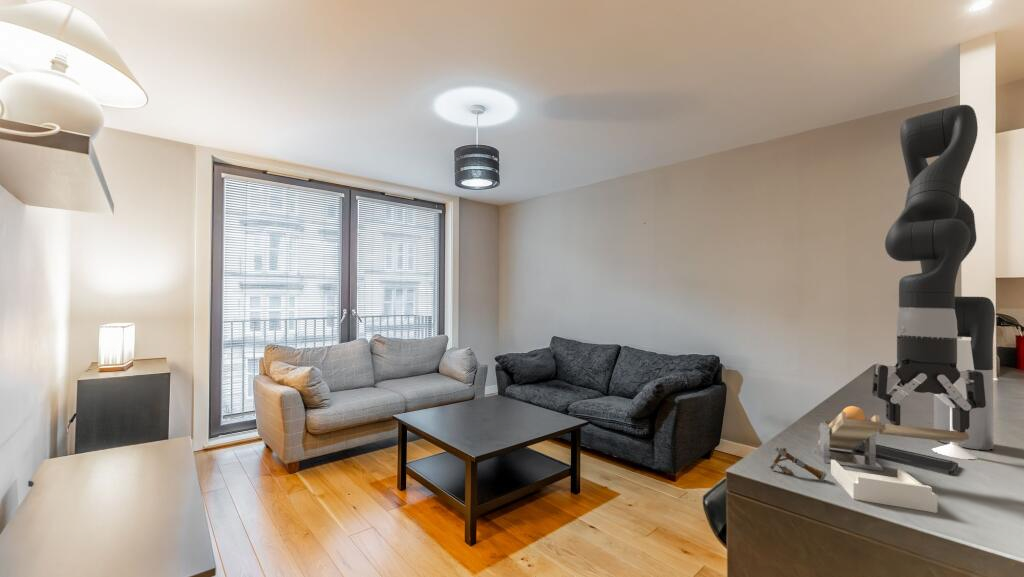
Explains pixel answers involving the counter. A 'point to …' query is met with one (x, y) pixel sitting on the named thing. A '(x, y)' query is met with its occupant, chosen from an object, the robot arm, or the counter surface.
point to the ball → (854, 413)
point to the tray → (886, 489)
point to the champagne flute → (962, 365)
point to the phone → (911, 459)
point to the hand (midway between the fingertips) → (926, 427)
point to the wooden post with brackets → (783, 452)
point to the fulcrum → (848, 459)
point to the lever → (857, 431)
